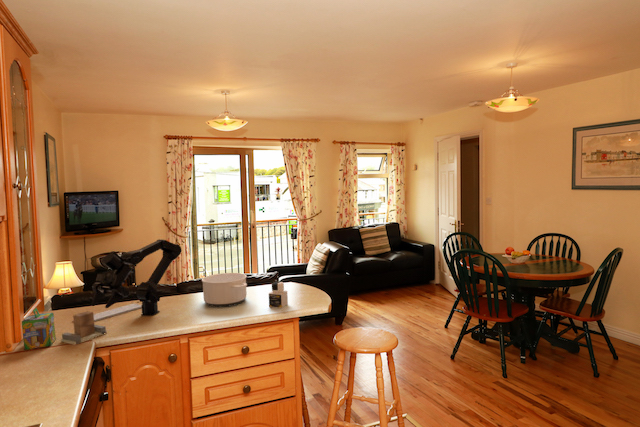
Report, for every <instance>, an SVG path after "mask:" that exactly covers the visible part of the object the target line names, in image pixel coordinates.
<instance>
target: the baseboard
mask: <svg viewBox="0 0 640 427" xmlns="http://www.w3.org/2000/svg"><path fill="white" fill-rule="evenodd" d="M139 309H140V310H141V309H142V302H141V303H140V301H136V302H134V303H133V302H132V303H131V304H127V305H123V306H119V307H115V308H112V309H109V310H105V311H101V312H97V313H95V314H94V313H93V314H94V323H95V322H98V320H99V321H102V320H104V319H105V320H106V319H108V318H113V317H115V316H119V315H123V314H126V313H129V312H132V311H136V310H139ZM112 316H113V317H112ZM71 322H72V323H74V320H71Z"/></svg>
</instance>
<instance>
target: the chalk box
mask: <svg viewBox="0 0 640 427" xmlns="http://www.w3.org/2000/svg"><path fill="white" fill-rule="evenodd" d="M32 312H33V315H27V316H26V317H25V318H24V319H23V320H22V321H21V328H22V329H21V330H22V338H23V347H24V351H27V350H33V349H39V348H44V347H51V346H52V345H53V344H54V342H55V341H56V339H57V337H56V336H57V335H56V324H55V315H54V314H55V313H54V312H47V313H46V312H45V313H40V311H39V310H38V308H37V307H35V308H34V309H33V310H32Z"/></svg>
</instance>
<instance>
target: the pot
mask: <svg viewBox="0 0 640 427" xmlns="http://www.w3.org/2000/svg"><path fill="white" fill-rule="evenodd" d="M247 277H248V276H247V274H245V273H241V272H224V273H215V274H211V275H206V276H204V277H202V279H201V282H202V291H203V294H202V295H203V301H204V302H205V304H206V305H207V306H210V307H213V308H227V307H233V306H237V305H239V304H242V303H243V302H244V301H245V300H246V298H247V295H248V294H247V292H248V291H247V286H248V283H247Z"/></svg>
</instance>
